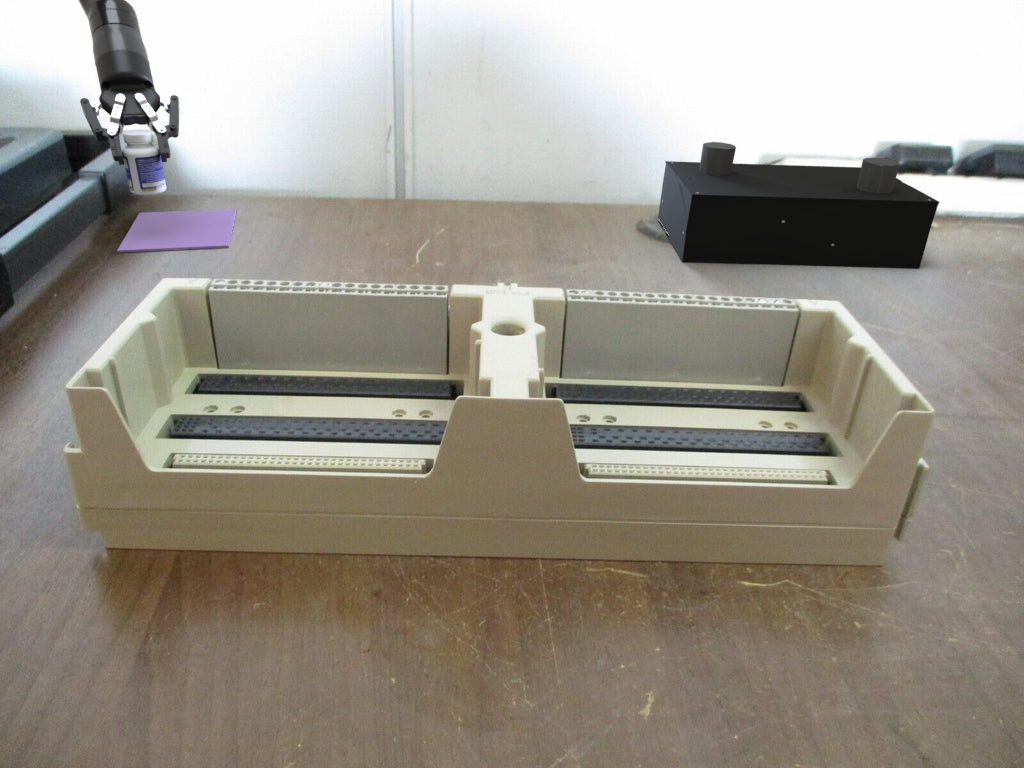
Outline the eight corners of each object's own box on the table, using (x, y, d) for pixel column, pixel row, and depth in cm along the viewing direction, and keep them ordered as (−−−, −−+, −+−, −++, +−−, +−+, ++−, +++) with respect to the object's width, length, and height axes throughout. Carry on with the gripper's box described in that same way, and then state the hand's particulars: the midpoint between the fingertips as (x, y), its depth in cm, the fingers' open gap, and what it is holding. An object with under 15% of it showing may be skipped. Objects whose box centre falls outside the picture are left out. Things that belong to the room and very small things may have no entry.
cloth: (117, 253, 116) (116, 250, 116) (140, 214, 133) (139, 212, 132) (228, 247, 119) (228, 245, 119) (236, 211, 136) (236, 208, 136)
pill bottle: (173, 187, 121) (163, 129, 116) (155, 196, 116) (144, 136, 112) (141, 185, 121) (130, 127, 117) (122, 194, 117) (110, 134, 112)
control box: (681, 261, 120) (696, 165, 113) (655, 216, 141) (665, 132, 134) (919, 268, 121) (948, 172, 114) (856, 222, 142) (878, 139, 135)
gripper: (65, 48, 112) (85, 149, 108) (171, 47, 117) (193, 143, 114) (74, 81, 118) (93, 178, 115) (174, 79, 124) (195, 170, 121)
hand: (143, 160), depth 114 cm, fingers closed on pill bottle, 5 cm apart
